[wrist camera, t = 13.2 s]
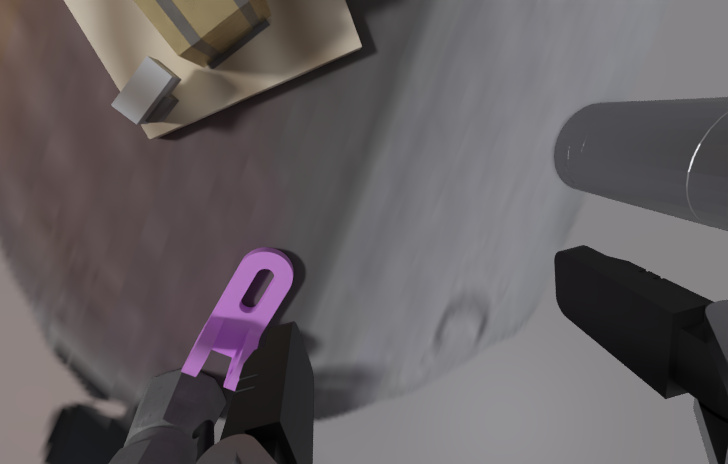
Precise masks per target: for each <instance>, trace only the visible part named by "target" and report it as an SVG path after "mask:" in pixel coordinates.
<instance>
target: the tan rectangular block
mask: <svg viewBox="0 0 728 464" xmlns="http://www.w3.org/2000/svg"><path fill="white" fill-rule="evenodd" d="M134 2H135V3H136V4H137V5H138V7H139V8H140V9H141V10H142V12H143V13H144V14H145V15H146V17H147V18H148V19H149V20H150V22H151V23H152V24H153V25H154V27H155V28H156V29H157V30H158V32H159V33H160V34H161V35H162V37H163V38H164V39H165V40H166V42H167V43H168V44H169V45H170V47H171V48H172V49H173V50H174V52H175V53H176V54H177V55H178V56H179V57H181V58H184V59H186V60H188V61H190V62H192V63H195V64H197V65H199V66H201V67H203V68H205V67H206V66H207V65H208V64H210V63H211V62H212V61H214V60H216V59H218V58H219V57H220V56H221V55H223V53H224V52H225V51H226V50H228V49H229V48H230V47H232V46H233V45H234V44H235V43H237V42H238V41H239V40H241V39H242V38H243V37H244V36H246V35H247V34H248V33H250V32H251V31H252V30H255V29H256V28H257V27H259V26H260V25H261V23H262V22H264V21H265V20H266V19H268V18H269V17H270V16H271V15H272V14H271V11H270V9H269V6H268V4H267V1H266V0H134Z"/></svg>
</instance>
